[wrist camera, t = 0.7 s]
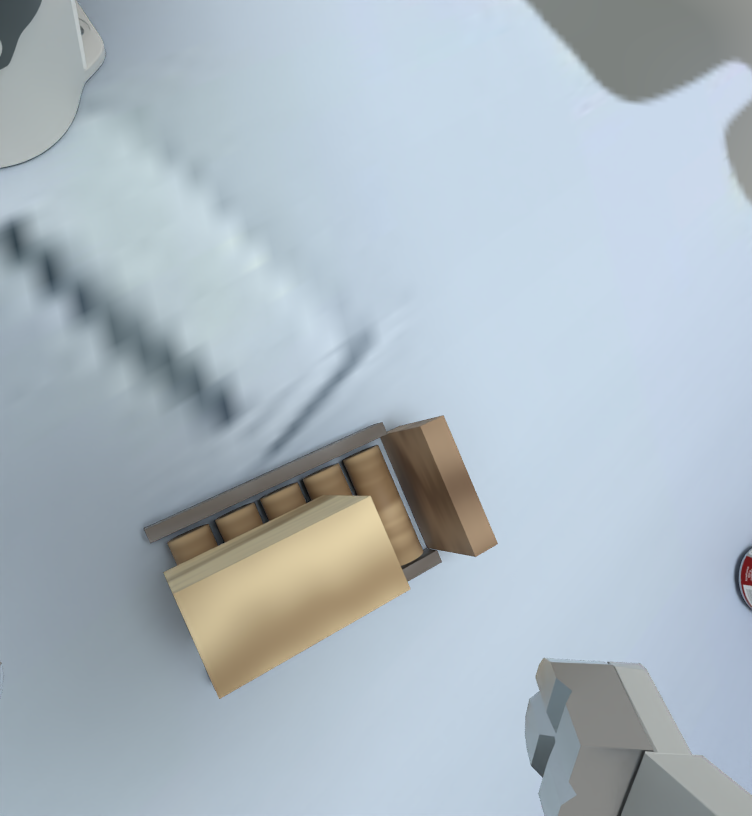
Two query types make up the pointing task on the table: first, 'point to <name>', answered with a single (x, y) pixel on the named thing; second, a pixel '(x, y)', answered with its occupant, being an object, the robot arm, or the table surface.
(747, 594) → the soda can
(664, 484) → the table surface
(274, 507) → the roller bed
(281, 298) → the table surface
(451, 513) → the stop
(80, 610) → the table surface
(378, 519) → the block
